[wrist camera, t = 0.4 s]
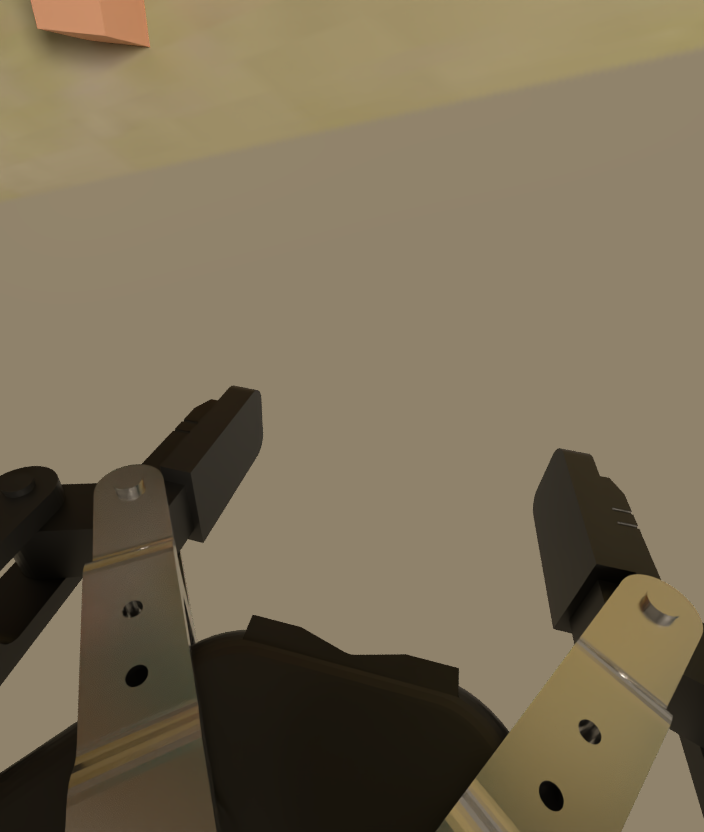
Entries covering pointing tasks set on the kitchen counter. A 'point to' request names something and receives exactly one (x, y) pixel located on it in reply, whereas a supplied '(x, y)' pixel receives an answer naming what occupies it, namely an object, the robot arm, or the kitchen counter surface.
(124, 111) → the kitchen counter surface
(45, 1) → the terracotta block
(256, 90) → the kitchen counter surface
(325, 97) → the kitchen counter surface
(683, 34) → the kitchen counter surface
